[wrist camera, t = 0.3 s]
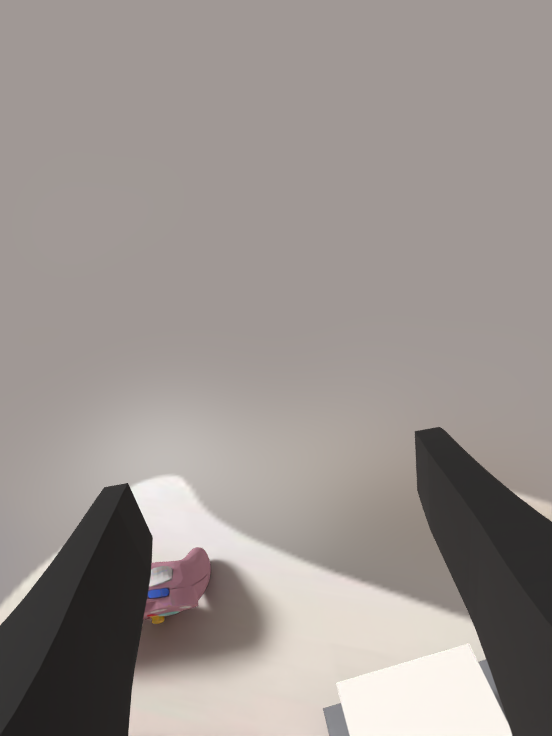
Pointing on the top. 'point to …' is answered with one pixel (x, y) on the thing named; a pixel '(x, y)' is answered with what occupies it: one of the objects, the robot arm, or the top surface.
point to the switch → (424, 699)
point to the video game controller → (177, 585)
